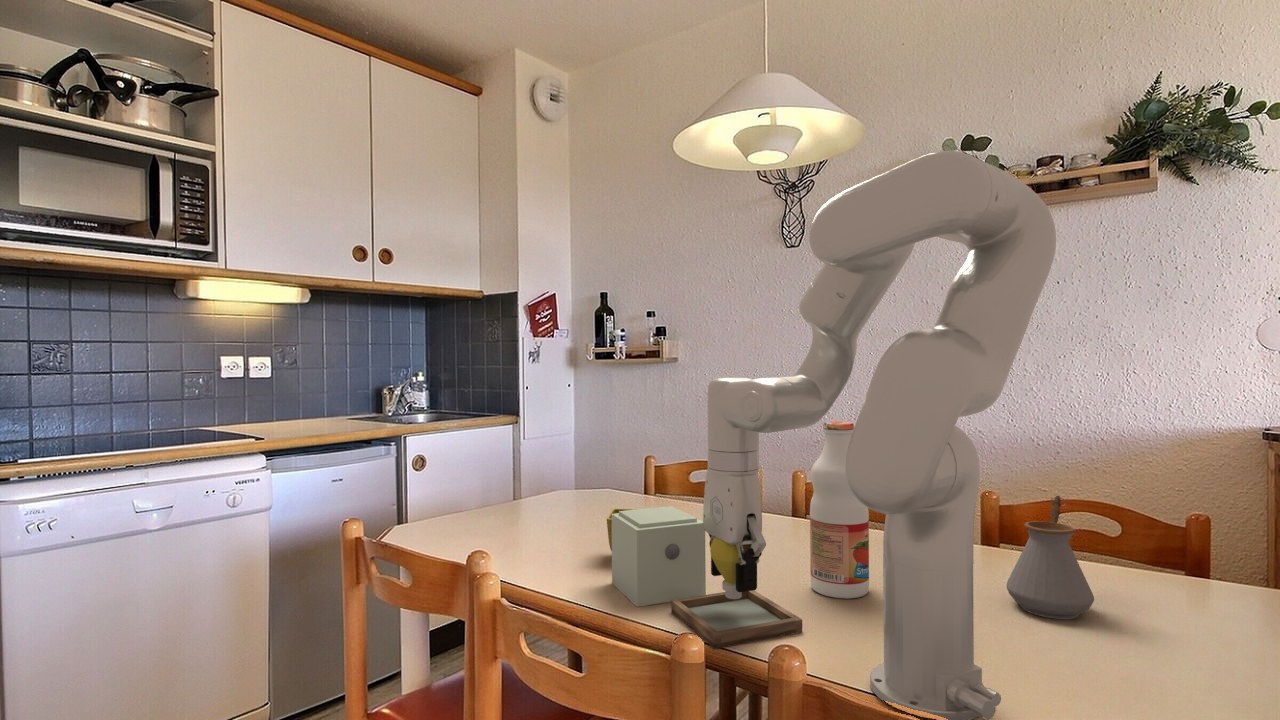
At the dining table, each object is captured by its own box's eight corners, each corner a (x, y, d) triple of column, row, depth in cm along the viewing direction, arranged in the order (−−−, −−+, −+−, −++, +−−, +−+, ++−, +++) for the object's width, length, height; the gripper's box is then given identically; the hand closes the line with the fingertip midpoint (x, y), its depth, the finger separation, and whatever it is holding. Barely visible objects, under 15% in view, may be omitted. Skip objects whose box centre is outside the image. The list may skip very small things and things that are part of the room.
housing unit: (706, 596, 108) (706, 519, 108) (638, 607, 104) (637, 526, 104) (673, 573, 120) (673, 503, 120) (611, 582, 115) (610, 509, 115)
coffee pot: (1092, 631, 94) (1091, 525, 94) (1000, 612, 101) (999, 514, 101) (1100, 588, 111) (1099, 499, 111) (1021, 575, 118) (1020, 491, 118)
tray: (802, 632, 94) (802, 619, 94) (714, 648, 89) (714, 635, 89) (750, 599, 107) (750, 587, 107) (671, 612, 102) (671, 600, 102)
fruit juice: (809, 579, 117) (808, 419, 116) (865, 582, 115) (864, 420, 115) (812, 597, 107) (810, 424, 107) (873, 601, 105) (871, 425, 105)
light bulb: (755, 606, 94) (755, 536, 94) (708, 603, 95) (707, 534, 95) (756, 589, 101) (756, 523, 100) (712, 586, 102) (712, 521, 102)
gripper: (684, 454, 104) (684, 568, 105) (741, 472, 88) (741, 606, 88) (726, 452, 107) (726, 562, 107) (788, 469, 91) (788, 598, 91)
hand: (733, 581), depth 98 cm, fingers closed on light bulb, 6 cm apart
